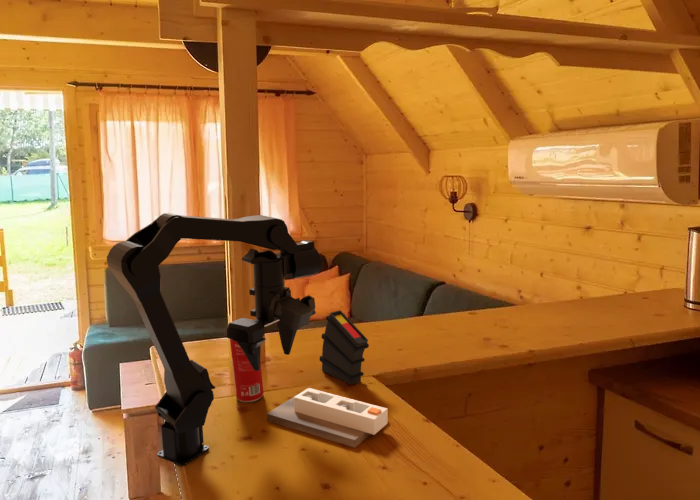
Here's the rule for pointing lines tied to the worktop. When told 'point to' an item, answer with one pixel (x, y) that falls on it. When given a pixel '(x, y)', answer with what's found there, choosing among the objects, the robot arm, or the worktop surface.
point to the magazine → (343, 348)
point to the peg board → (315, 424)
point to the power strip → (341, 410)
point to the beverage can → (245, 376)
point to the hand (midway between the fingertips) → (272, 362)
